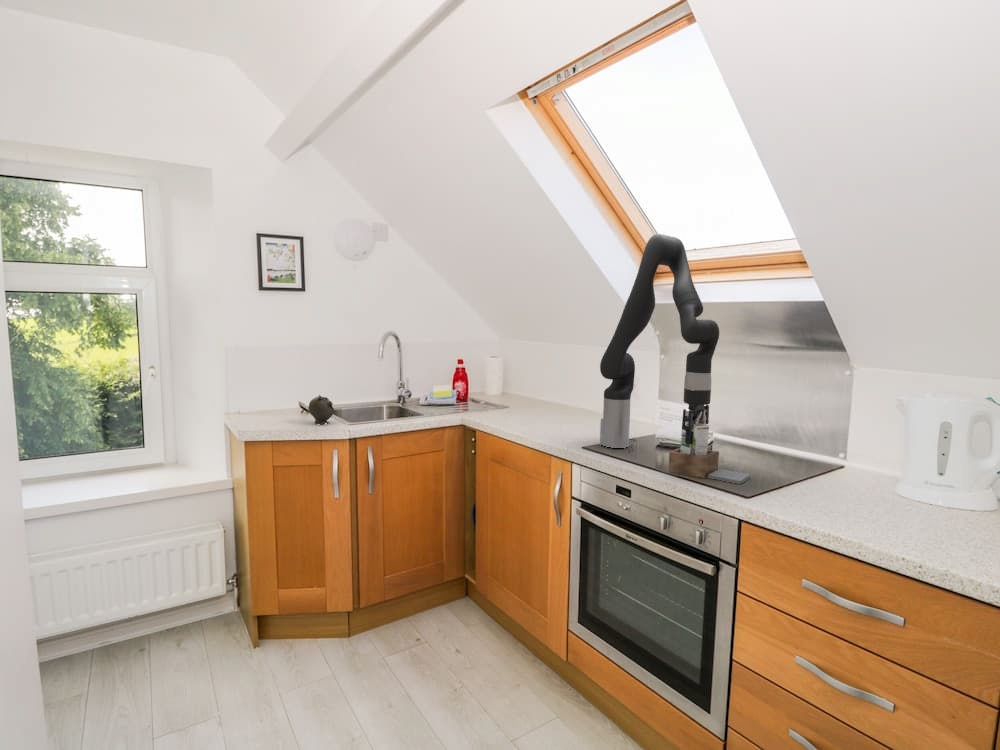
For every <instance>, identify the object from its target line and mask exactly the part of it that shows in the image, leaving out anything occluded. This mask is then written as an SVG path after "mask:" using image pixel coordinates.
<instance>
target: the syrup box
mask: <svg viewBox="0 0 1000 750" xmlns="http://www.w3.org/2000/svg"><path fill="white" fill-rule="evenodd" d="M685 425H686V423H685ZM709 431H710V425H709V424H706V425H704V424H701V423H698V425H696V426H695V429H694V431H693V432H694V440H693V444H686V443H685V434H686V431H685V430H683V429H682V428H681V434H680V436H681V437H680V447H681V450H680V453H685V454H691V455H697V456H705V455H707V450H709V449H708V447H709V445H708V444H709V433H710V432H709Z"/></svg>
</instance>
